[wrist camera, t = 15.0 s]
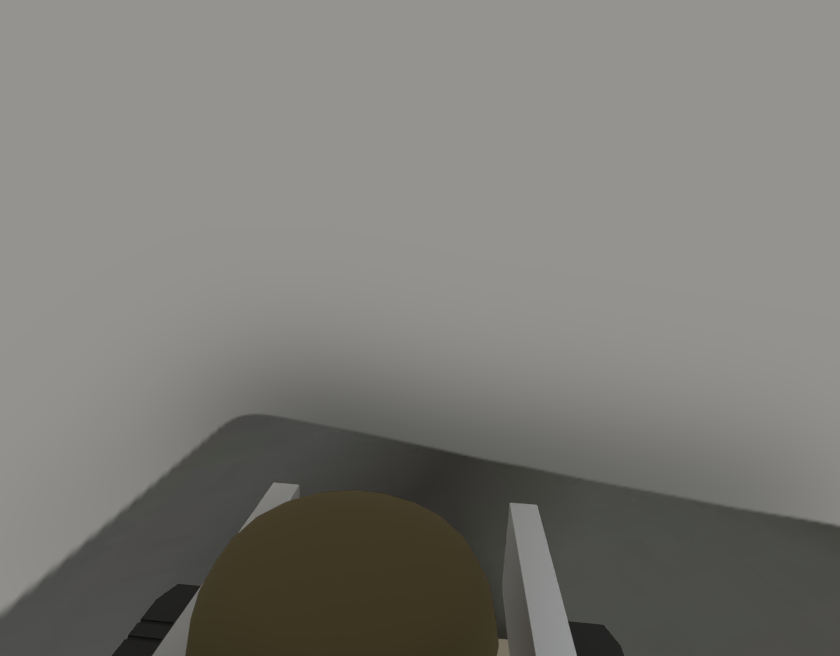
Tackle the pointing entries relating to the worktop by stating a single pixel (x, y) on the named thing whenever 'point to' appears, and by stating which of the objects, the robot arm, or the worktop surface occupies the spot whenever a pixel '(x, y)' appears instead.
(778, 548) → the worktop surface
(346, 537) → the olive green peg
